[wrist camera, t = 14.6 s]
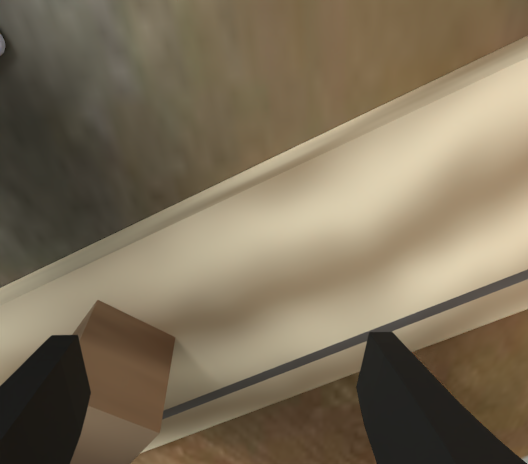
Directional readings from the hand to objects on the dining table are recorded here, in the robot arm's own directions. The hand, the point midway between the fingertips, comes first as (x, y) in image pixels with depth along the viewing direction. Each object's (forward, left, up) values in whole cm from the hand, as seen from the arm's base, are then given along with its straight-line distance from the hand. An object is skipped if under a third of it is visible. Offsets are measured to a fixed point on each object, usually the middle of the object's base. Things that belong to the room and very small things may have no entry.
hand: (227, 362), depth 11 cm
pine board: (+5, 0, -9) cm, 11 cm away
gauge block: (+4, -9, -7) cm, 12 cm away
